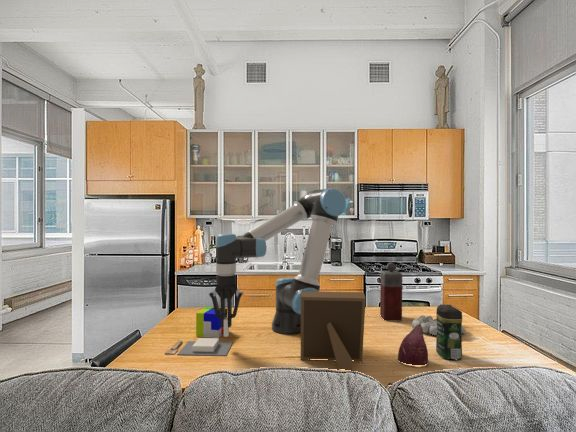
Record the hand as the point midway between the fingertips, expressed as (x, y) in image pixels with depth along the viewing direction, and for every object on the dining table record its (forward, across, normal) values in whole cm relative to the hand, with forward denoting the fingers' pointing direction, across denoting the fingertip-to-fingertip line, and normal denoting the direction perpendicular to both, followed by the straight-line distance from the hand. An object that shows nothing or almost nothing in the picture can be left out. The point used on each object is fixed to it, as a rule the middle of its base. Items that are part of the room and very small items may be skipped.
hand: (226, 335), depth 142 cm
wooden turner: (+5, +20, 0) cm, 20 cm away
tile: (+4, +4, 0) cm, 5 cm away
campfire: (+7, -90, -26) cm, 94 cm away
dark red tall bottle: (+6, -74, -47) cm, 88 cm away
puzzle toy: (+5, +10, -18) cm, 21 cm away
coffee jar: (+6, -83, +3) cm, 84 cm away
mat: (+5, +8, 0) cm, 9 cm away
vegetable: (+6, -68, +9) cm, 69 cm away
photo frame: (+6, -39, +13) cm, 42 cm away
